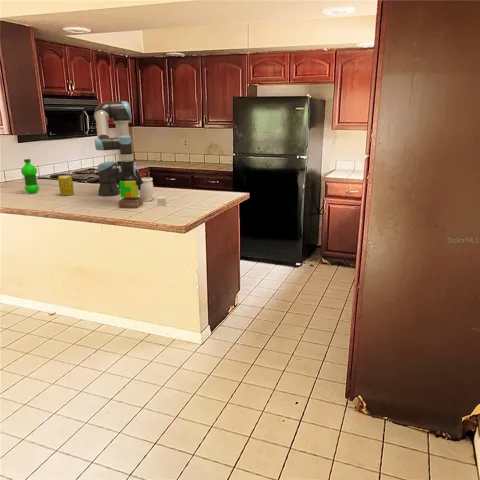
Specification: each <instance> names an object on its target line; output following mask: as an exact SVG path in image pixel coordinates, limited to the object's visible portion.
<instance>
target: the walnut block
mask: <svg viewBox="0 0 480 480" xmlns="http://www.w3.org/2000/svg"><path fill="white" fill-rule="evenodd" d="M143 204H144V201H143V197H140V196H137V197H121V199H119V200H118V208H119V209H138V208H140V207H141V206H142V205H143Z"/></svg>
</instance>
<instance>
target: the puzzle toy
mask: <svg viewBox="0 0 480 480" xmlns="http://www.w3.org/2000/svg"><path fill="white" fill-rule="evenodd" d="M119 184H120V189H119V190H120V194H119V195H120V198H124V197H139V195H137V187H136V185H137V183H136V181H134V179H133V178H131V179H123V180H121V181H120V182H119Z"/></svg>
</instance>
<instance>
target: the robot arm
mask: <svg viewBox="0 0 480 480" xmlns="http://www.w3.org/2000/svg"><path fill="white" fill-rule="evenodd" d="M93 118H94V120H95V122H96V123H95V124H96V135H97V138H94V146H95V147H94V148H95V150H96V151H101V152H102V151H117V150H118V159H117V161H116V163H115V161H113V160H112V161H111V160H110V161H104V162H101V163H99V164H98V165H97V169H98V170H97V171H98V178H99V179H98V180H99V188H98V196H100V197H114V196H118V195H121V194H120V184H119V182H120V181H121V180H123V179H134V181H136V183H137V185H136V187H137V195H138V196H140V190H141V184H143V181H142V179H141V178H142V176H141V173H140V170H139V168H137V162H135V159H134V156H133V147H132V146H133V145H132V137H131V136H130V132H129V131H130V129H129V123H130V122H131V119H132V118H133V116H132V112H131V107H130V104H129V102H128V101H125V100H124V101H123V100H122V101H121V100H120V101H103V102H100V103H99V104H98V105H97V106H96V108H95V109H94V112H93ZM109 120H112V122H113V123H114V124H115V130H116V131H115V132H116V137H111V136H110V129H109Z"/></svg>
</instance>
